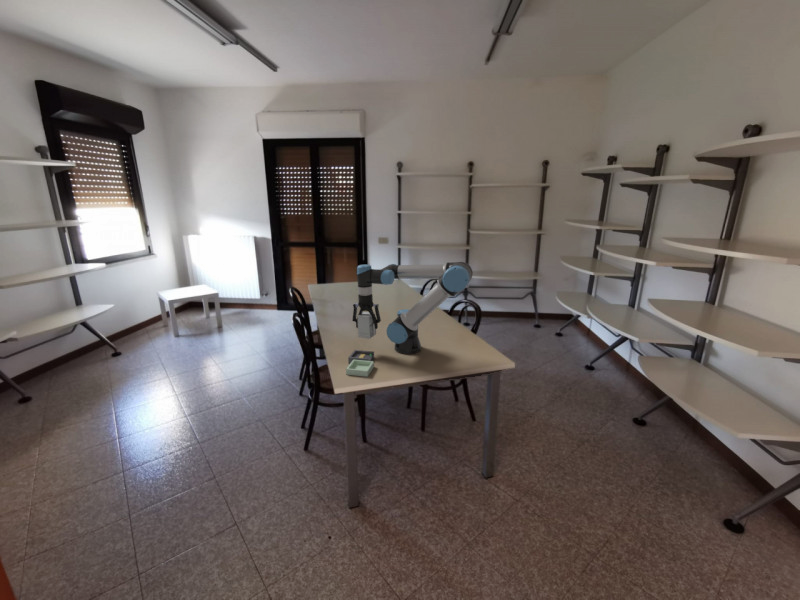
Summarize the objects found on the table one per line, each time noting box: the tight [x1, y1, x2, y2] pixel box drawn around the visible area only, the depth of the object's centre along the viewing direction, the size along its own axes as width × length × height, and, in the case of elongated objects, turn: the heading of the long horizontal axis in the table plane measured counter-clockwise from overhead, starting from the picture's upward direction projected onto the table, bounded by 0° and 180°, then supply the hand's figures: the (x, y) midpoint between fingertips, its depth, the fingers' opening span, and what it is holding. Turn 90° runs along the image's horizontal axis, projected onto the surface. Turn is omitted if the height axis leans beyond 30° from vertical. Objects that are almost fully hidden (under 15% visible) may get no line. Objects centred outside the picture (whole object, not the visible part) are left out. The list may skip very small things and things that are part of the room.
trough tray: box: [345, 359, 375, 378], centre depth 184 cm, size 11×11×3 cm
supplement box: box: [356, 311, 377, 340], centre depth 199 cm, size 7×7×13 cm
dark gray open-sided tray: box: [348, 349, 375, 365], centre depth 195 cm, size 11×10×4 cm
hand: (367, 333), depth 201 cm, fingers closed on supplement box, 8 cm apart
